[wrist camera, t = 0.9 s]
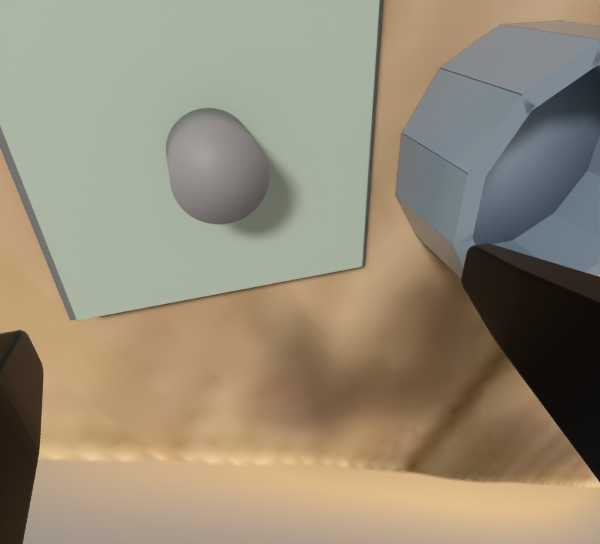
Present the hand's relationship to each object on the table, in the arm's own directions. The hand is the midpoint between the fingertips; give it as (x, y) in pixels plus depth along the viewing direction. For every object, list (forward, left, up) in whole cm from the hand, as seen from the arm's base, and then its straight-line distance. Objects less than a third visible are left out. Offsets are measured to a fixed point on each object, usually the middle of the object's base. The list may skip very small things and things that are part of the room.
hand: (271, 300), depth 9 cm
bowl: (-14, +2, -11) cm, 18 cm away
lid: (0, 0, -10) cm, 10 cm away
